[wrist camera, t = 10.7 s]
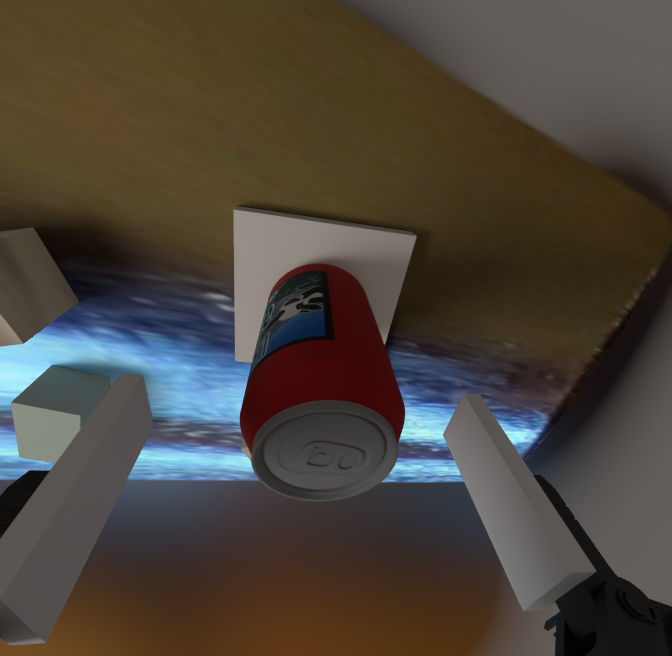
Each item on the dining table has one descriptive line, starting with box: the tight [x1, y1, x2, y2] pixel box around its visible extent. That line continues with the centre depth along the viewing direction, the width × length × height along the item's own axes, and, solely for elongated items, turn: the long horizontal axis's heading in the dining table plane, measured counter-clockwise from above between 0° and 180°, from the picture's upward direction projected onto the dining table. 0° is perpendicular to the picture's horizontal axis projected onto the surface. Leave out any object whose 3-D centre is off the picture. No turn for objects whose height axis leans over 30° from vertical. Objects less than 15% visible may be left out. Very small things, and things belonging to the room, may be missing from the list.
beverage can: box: [240, 263, 405, 501], centre depth 16 cm, size 7×7×12 cm
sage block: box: [11, 365, 110, 463], centre depth 24 cm, size 4×6×4 cm, turn 158°
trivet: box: [234, 206, 417, 363], centre depth 22 cm, size 11×11×1 cm
